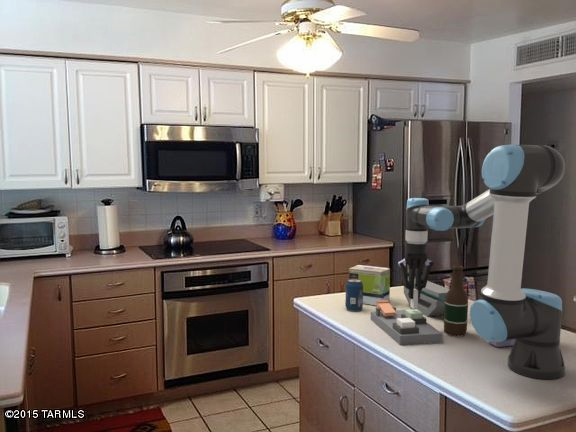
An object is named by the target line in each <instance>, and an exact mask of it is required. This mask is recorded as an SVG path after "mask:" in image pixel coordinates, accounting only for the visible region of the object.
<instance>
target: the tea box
mask: <svg viewBox="0 0 576 432" xmlns="http://www.w3.org/2000/svg"><path fill="white" fill-rule="evenodd" d="M348 279H360V280H362V284H363V305H371V306H376V301H381V300H388V301H389V302H390V296H391V295H390V294H391V280H390V279H391V268H390V267H381V266H373V265H364V264H357V265H355V266H352V267H349V268H348Z"/></svg>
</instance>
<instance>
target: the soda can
mask: <svg viewBox="0 0 576 432" xmlns="http://www.w3.org/2000/svg"><path fill="white" fill-rule="evenodd" d="M344 304H345V308H346V310H347V311H349V312H360V311H361V310H362V309H363V307H364V304H363V284H362V280H360V279H349V278H348V279H347V281H346V283H345V303H344Z"/></svg>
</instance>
